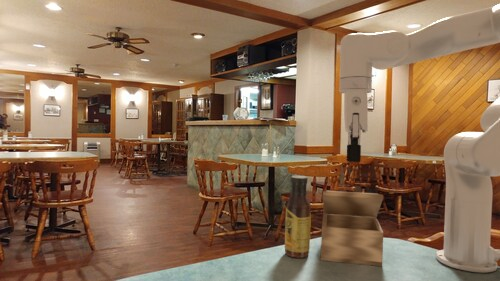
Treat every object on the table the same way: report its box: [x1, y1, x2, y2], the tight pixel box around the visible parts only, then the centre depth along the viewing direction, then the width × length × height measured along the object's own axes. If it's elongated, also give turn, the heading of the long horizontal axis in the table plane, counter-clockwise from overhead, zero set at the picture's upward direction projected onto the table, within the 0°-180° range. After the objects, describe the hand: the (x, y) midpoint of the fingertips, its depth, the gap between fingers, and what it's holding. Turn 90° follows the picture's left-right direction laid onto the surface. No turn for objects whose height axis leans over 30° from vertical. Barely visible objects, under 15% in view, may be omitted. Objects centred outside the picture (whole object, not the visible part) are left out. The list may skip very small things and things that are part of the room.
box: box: [320, 213, 384, 267], centre depth 91 cm, size 14×14×8 cm
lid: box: [322, 190, 384, 218], centre depth 92 cm, size 14×14×1 cm
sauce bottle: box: [284, 175, 312, 259], centre depth 89 cm, size 6×6×20 cm
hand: (353, 161), depth 87 cm, fingers closed
